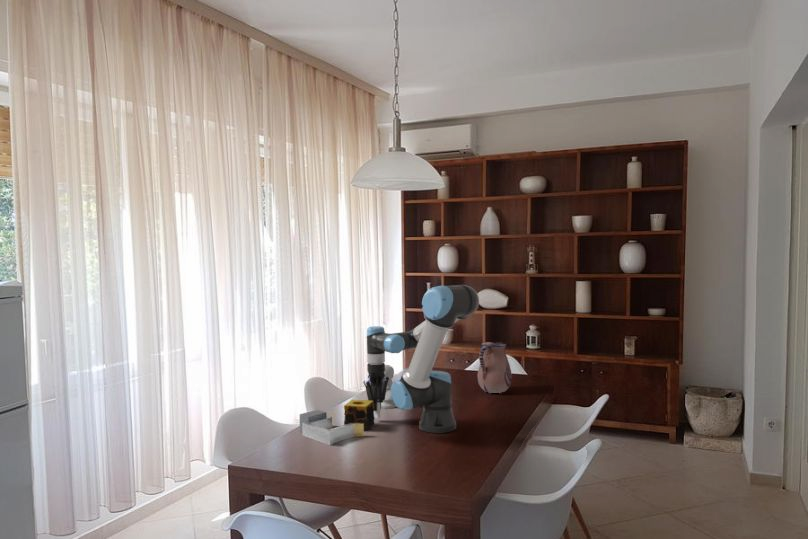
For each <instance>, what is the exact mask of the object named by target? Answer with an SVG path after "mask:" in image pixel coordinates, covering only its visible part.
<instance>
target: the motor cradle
mask: <svg viewBox="0 0 808 539" xmlns="http://www.w3.org/2000/svg"><path fill="white" fill-rule="evenodd" d="M299 432H301V434H302V436H303V437H305V438H309V439H311V440H314V441H317V442H318V443H319V442H320V443H322V444H325V445H328V446H332V445H334V443H335V444H336V443H339V442H341V440H342V441H344V439H345V440H347V439H348V440H349V439H350V438H355V437H364V436H365V431H364V423H350V424H346V425H344V424H343V425H341V426H336V427H334V413H330V414H329V416H327V411H324V410H320V409H315V410H311V411H308V412H304V413H300V414H299Z"/></svg>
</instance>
